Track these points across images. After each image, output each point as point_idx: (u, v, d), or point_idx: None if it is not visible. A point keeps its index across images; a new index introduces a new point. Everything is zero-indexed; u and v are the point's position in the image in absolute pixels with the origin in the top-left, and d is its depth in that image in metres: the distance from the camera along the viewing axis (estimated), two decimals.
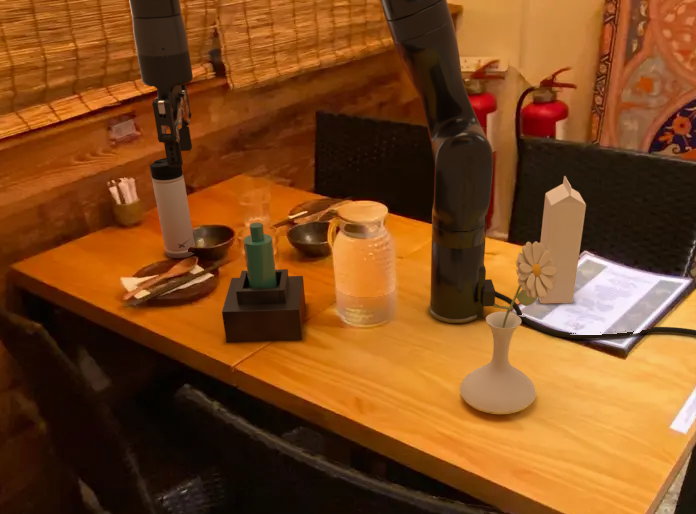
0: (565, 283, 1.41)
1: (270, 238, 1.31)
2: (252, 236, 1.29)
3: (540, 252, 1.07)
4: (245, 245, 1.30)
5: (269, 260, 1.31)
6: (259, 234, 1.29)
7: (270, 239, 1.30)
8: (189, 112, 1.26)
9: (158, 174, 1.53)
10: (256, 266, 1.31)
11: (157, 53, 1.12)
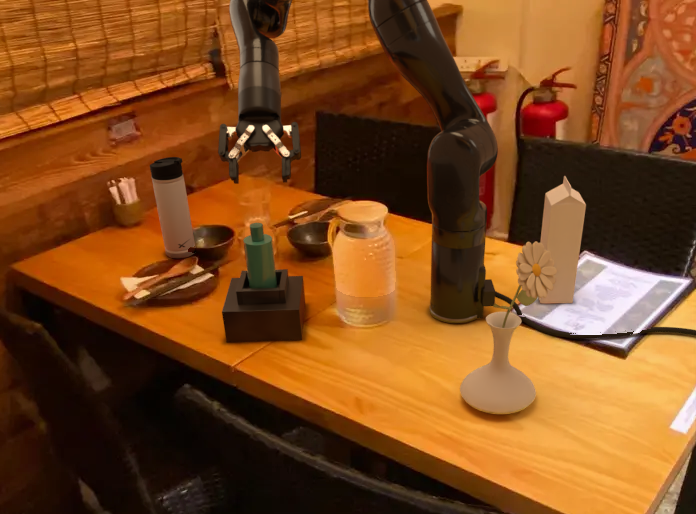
0: (565, 283, 1.41)
1: (270, 238, 1.31)
2: (252, 236, 1.29)
3: (540, 252, 1.07)
4: (245, 245, 1.30)
5: (269, 260, 1.31)
6: (259, 234, 1.29)
7: (270, 239, 1.30)
8: (294, 148, 1.36)
9: (158, 174, 1.53)
10: (256, 266, 1.31)
11: None
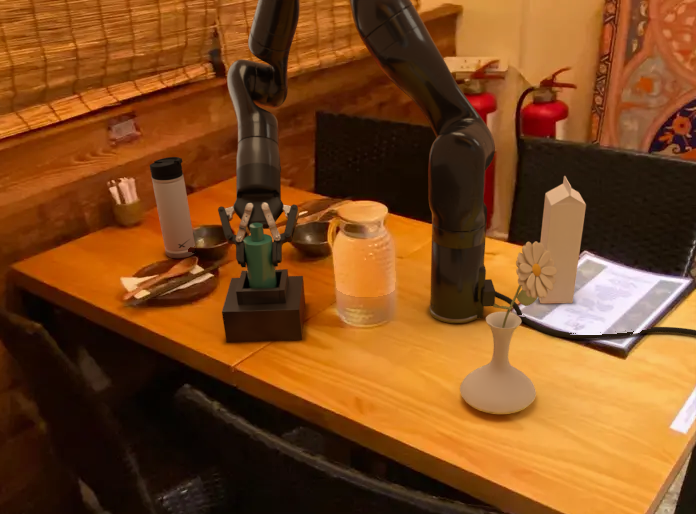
0: (565, 283, 1.41)
1: (270, 238, 1.31)
2: (252, 236, 1.29)
3: (540, 252, 1.07)
4: (245, 245, 1.30)
5: (269, 260, 1.31)
6: (259, 234, 1.29)
7: (270, 239, 1.30)
8: (286, 231, 1.31)
9: (158, 174, 1.53)
10: (256, 266, 1.31)
11: None
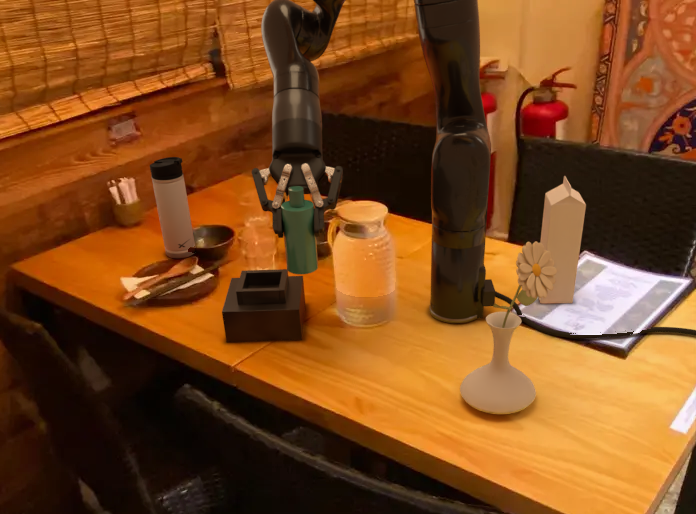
0: (565, 283, 1.41)
1: (311, 204, 1.14)
2: (291, 201, 1.13)
3: (540, 252, 1.07)
4: (283, 212, 1.14)
5: (310, 229, 1.15)
6: (299, 199, 1.13)
7: (311, 205, 1.14)
8: (330, 196, 1.15)
9: (158, 174, 1.53)
10: (295, 235, 1.15)
11: None
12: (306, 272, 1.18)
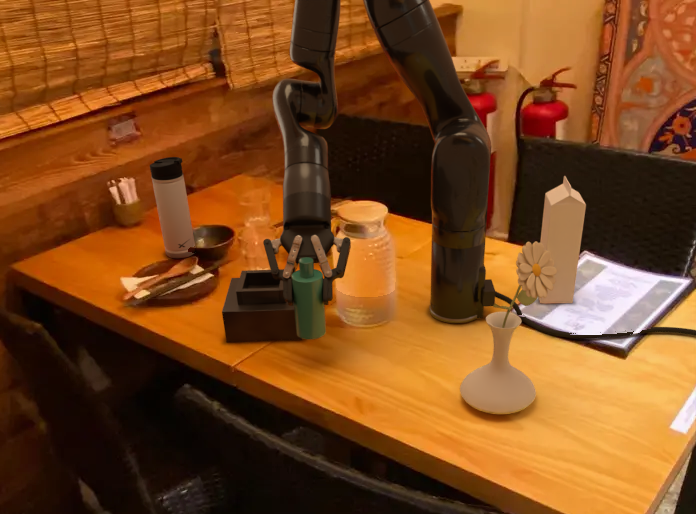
0: (565, 283, 1.41)
1: (320, 274, 1.20)
2: (301, 272, 1.18)
3: (540, 252, 1.07)
4: (294, 282, 1.19)
5: (319, 298, 1.20)
6: (309, 270, 1.18)
7: (321, 275, 1.19)
8: (338, 266, 1.20)
9: (158, 174, 1.53)
10: (305, 304, 1.20)
11: None
12: (315, 337, 1.23)
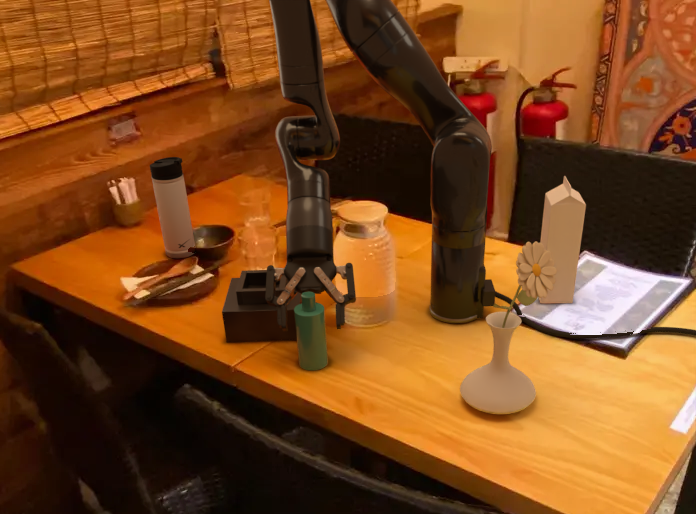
0: (565, 283, 1.41)
1: (322, 308, 1.23)
2: (304, 306, 1.22)
3: (540, 252, 1.07)
4: (296, 315, 1.22)
5: (321, 331, 1.23)
6: (311, 304, 1.21)
7: (322, 309, 1.23)
8: (349, 292, 1.23)
9: (158, 174, 1.53)
10: (307, 337, 1.23)
11: None
12: (317, 368, 1.26)
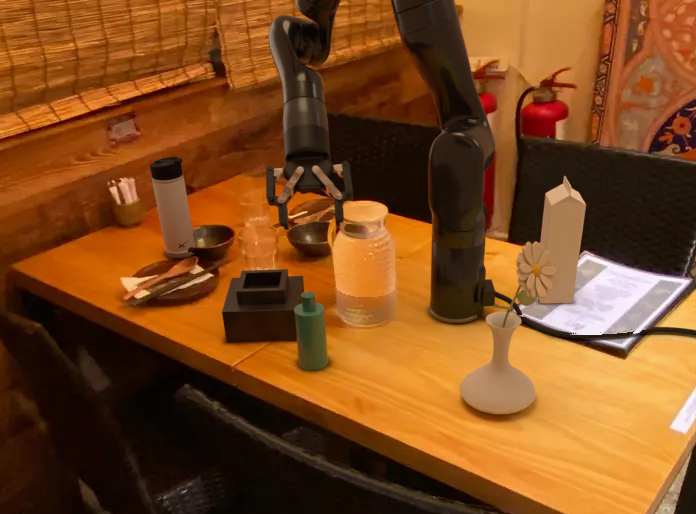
0: (565, 283, 1.41)
1: (322, 308, 1.23)
2: (304, 306, 1.22)
3: (540, 252, 1.07)
4: (296, 315, 1.22)
5: (321, 331, 1.23)
6: (311, 304, 1.21)
7: (322, 309, 1.23)
8: (347, 189, 1.28)
9: (158, 174, 1.53)
10: (307, 337, 1.23)
11: None
12: (317, 368, 1.26)
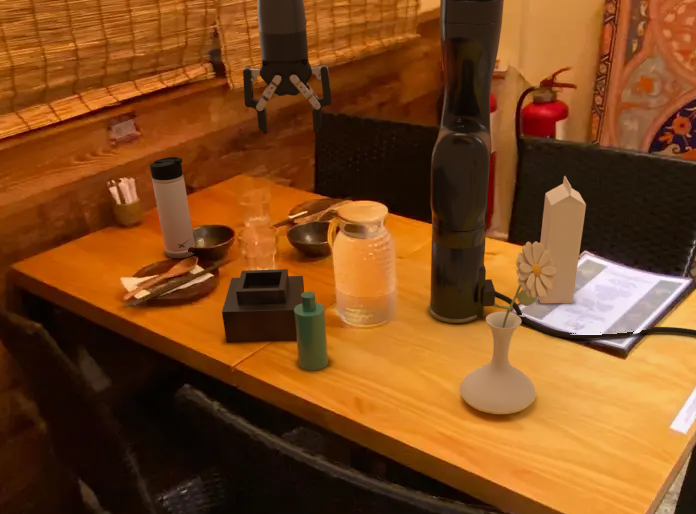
0: (565, 283, 1.41)
1: (322, 308, 1.23)
2: (304, 306, 1.22)
3: (540, 252, 1.07)
4: (296, 315, 1.22)
5: (321, 331, 1.23)
6: (311, 304, 1.21)
7: (322, 309, 1.23)
8: (325, 99, 1.28)
9: (158, 174, 1.53)
10: (307, 337, 1.23)
11: (258, 27, 1.23)
12: (317, 368, 1.26)
